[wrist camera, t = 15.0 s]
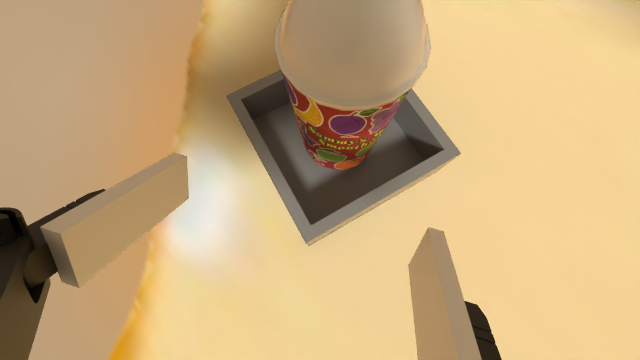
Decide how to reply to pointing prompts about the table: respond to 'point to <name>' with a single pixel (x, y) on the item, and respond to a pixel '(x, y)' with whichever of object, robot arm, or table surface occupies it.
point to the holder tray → (346, 184)
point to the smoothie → (349, 70)
